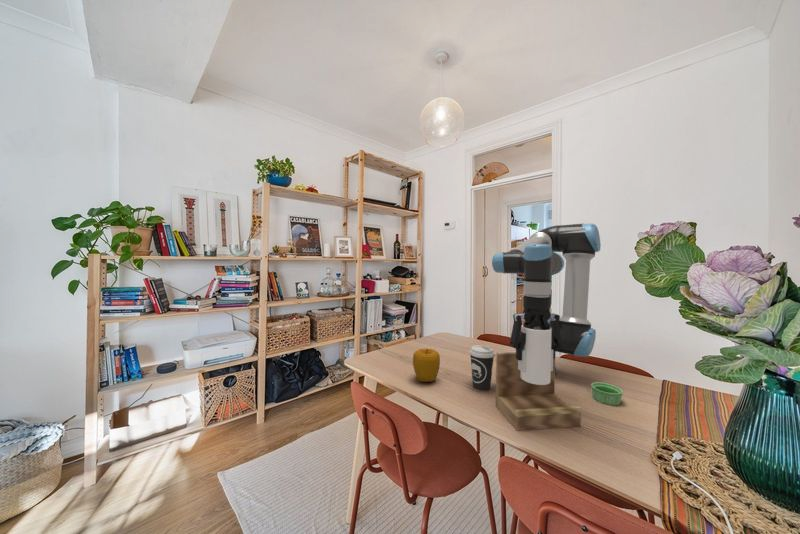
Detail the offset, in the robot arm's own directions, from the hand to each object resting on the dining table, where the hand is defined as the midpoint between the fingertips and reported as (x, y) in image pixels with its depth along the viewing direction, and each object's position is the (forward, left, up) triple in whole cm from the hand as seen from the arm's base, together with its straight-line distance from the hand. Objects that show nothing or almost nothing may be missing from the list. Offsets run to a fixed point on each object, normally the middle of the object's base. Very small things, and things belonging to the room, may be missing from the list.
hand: (535, 369), depth 86 cm
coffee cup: (+7, -24, -16) cm, 29 cm away
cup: (0, 0, -3) cm, 3 cm away
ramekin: (-33, -10, -16) cm, 38 cm away
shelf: (-2, -3, -16) cm, 16 cm away
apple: (+27, -32, -16) cm, 44 cm away
